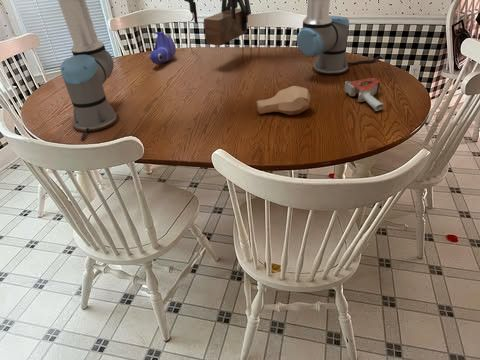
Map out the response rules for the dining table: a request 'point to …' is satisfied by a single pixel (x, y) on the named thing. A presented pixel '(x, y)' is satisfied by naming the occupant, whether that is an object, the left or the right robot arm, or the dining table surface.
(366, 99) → the tape dispenser
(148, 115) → the dining table surface
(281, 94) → the squash
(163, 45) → the toy
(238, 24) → the box
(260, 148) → the dining table surface
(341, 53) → the right robot arm
